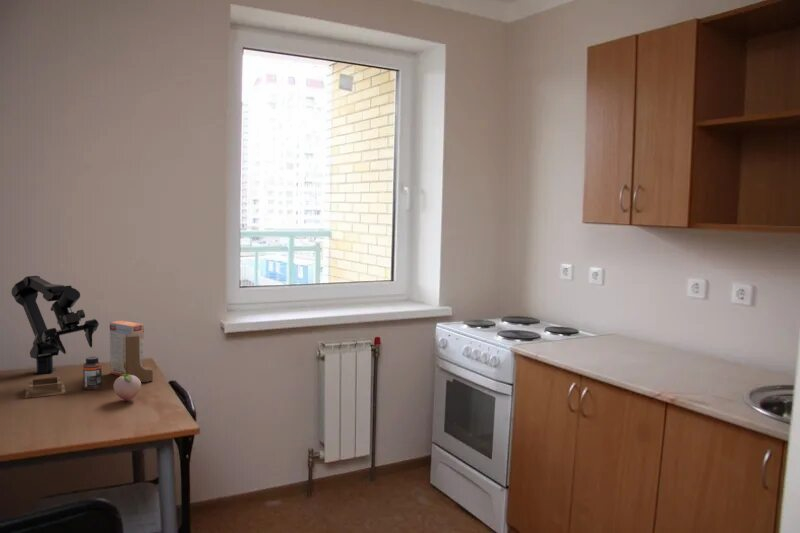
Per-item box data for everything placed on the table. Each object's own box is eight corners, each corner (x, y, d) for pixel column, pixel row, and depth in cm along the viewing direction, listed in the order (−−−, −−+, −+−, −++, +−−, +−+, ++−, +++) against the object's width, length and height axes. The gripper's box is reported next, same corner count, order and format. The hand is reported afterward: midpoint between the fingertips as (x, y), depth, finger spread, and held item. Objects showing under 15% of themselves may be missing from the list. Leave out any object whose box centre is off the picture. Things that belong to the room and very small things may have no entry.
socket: (26, 389, 220) (25, 379, 220) (64, 384, 226) (63, 375, 226) (25, 398, 210) (25, 388, 209) (65, 393, 216) (65, 383, 215)
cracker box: (145, 376, 240) (144, 323, 238) (131, 379, 235) (130, 326, 233) (123, 370, 247) (122, 319, 246) (109, 373, 242) (108, 321, 240)
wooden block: (151, 378, 237) (151, 332, 235) (152, 381, 233) (152, 335, 232) (126, 381, 233) (125, 334, 231) (127, 384, 229) (126, 336, 227)
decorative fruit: (146, 401, 210) (145, 372, 209) (121, 406, 204) (121, 377, 203) (134, 395, 216) (133, 367, 215) (110, 400, 210) (109, 371, 209)
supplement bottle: (87, 385, 226) (87, 355, 225) (104, 385, 227) (104, 355, 226) (80, 390, 220) (80, 359, 219) (97, 390, 221) (97, 359, 220)
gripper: (40, 309, 220) (55, 346, 215) (94, 298, 233) (109, 333, 229) (35, 324, 227) (49, 360, 222) (88, 313, 240) (102, 347, 236)
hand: (78, 350), depth 227 cm, fingers open, 9 cm apart
